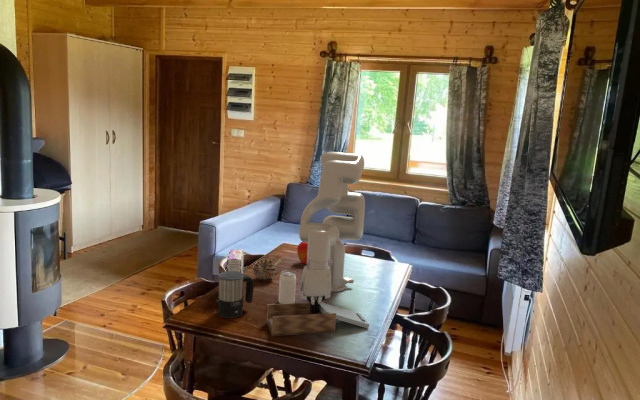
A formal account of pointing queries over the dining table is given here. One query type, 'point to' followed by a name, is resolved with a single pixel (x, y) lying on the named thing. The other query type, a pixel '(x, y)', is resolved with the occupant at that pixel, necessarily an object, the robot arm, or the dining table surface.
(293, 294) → the can
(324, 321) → the walnut box
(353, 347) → the dining table surface
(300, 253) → the apple
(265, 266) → the pine cone
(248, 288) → the milk frother
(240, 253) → the candy box
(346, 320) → the cover plate
